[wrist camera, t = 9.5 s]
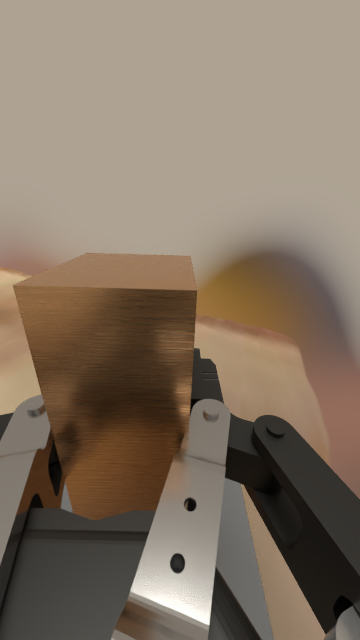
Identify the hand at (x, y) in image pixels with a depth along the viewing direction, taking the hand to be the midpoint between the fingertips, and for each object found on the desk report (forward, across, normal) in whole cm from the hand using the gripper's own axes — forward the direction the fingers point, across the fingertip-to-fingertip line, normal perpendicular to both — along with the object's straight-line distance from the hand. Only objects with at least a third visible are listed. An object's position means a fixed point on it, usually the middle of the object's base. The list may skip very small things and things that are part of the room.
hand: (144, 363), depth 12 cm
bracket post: (-3, 0, +7) cm, 7 cm away
